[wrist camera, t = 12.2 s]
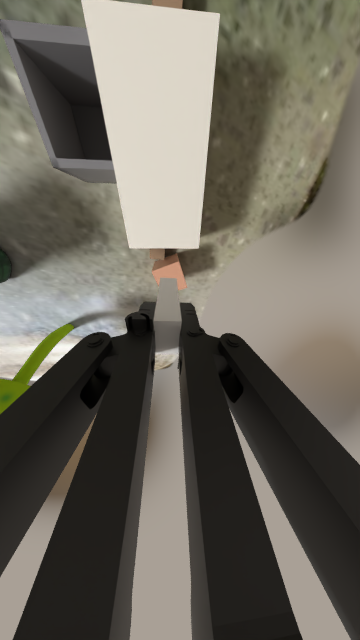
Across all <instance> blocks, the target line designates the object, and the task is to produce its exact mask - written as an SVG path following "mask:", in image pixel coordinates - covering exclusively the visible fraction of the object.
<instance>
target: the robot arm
mask: <svg viewBox="0 0 360 640" xmlns="http://www.w3.org/2000/svg"><path fill="white" fill-rule="evenodd" d="M125 322H126V326H127V331H128V332H127V333H126V334H124V335H121V336H116V337H112V338H111V337H110V336H109V334H107V333H105V332H97V333H92V334H90V335H88V336H86V337H85V338H83V339H82V340H81V341H80V342H79V343H78V344H77V345H75V346H74V347H73V348H72V349H71V350H70V351H69V352H68V353H67V354H66V355H65V356H63V357H62V358H61V359H60V360H59V361H58V362H57V363H56V364H55V365H54V366H52V367H51V368H50V369H49V370H48V371H47V372H46V373H45V374H44V375H43V376H42V377H40V378H39V379H38V380H37V381H36V382H35V383H34V384H33V385H32V386H31V387H30V388H28V389H27V390H26V391H25V392H24V393H23V394H22V395H21V396H20V397H19V398H17V399H16V400H15V401H14V402H13V403H12V404H11V405H10V406H9V407H8V408H7V409H5V410H4V411H3V412H2V413H1V414H0V576H1V575H2V573H3V571H4V569H5V568H6V566H7V564H8V563H9V561H10V559H11V558H12V556H13V554H14V553H15V551H16V549H17V547H18V546H19V544H20V542H21V541H22V539H23V537H24V536H25V534H26V532H27V530H28V529H29V527H30V525H31V524H32V522H33V520H34V519H35V517H36V515H37V513H38V512H39V510H40V509H41V507H42V505H43V503H44V502H45V500H46V498H47V497H48V495H49V493H50V492H51V490H52V488H53V486H54V485H55V483H56V481H57V480H58V478H59V476H60V475H61V473H62V471H63V470H64V468H65V466H66V465H67V463H68V461H69V459H70V458H71V456H72V454H73V452H74V451H75V449H76V448H77V446H78V444H79V442H80V441H81V439H82V437H83V436H84V434H85V432H86V430H87V429H88V427H89V426H90V424H91V422H92V420H93V419H94V417H95V415H96V414H97V415H96V418H95V420H94V423H93V426H92V429H91V431H90V434H89V436H88V439H87V442H86V445H85V447H84V450H83V453H82V455H81V458H80V461H79V463H78V466H77V469H76V472H75V474H74V477H73V480H72V482H71V485H70V488H69V490H68V493H67V496H66V498H65V501H64V504H63V506H62V509H61V512H60V514H59V517H58V520H57V522H56V525H55V528H54V530H53V533H52V536H51V538H50V541H49V544H48V547H47V549H46V552H45V555H44V557H43V560H42V563H41V565H40V568H39V571H38V574H37V576H36V579H35V581H34V584H33V587H32V589H31V592H30V595H29V598H28V600H27V603H26V606H25V608H24V611H23V614H22V617H21V619H20V622H19V625H18V627H17V630H16V632H15V635H14V638H13V640H129V638H130V627H131V612H132V587H133V577H134V566H135V556H136V547H137V537H138V527H139V516H140V506H141V496H142V486H143V476H144V466H145V456H146V446H147V436H148V426H149V416H150V405H151V396H152V386H153V376H154V366H155V354H178V353H179V361H178V369H179V381H180V398H181V415H182V432H183V449H184V466H185V482H186V483H185V484H186V500H187V518H188V532H189V533H188V535H189V552H190V568H191V623H192V640H303V639H302V636H301V634H300V631H299V628H298V625H297V622H296V619H295V617H294V614H293V611H292V608H291V604H290V601H289V598H288V595H287V592H286V588H285V585H284V582H283V579H282V576H281V572H280V569H279V567H278V563H277V560H276V557H275V554H274V550H273V547H272V544H271V541H270V538H269V534H268V531H267V528H266V525H265V521H264V518H263V515H262V512H261V509H260V505H259V503H258V499H257V496H256V493H255V490H254V486H253V483H252V480H251V477H250V474H249V470H248V467H247V464H246V461H245V458H244V454H243V451H242V448H241V445H240V442H239V439H238V435H237V432H236V429H235V426H234V423H233V419H232V416H231V413H230V410H231V412H232V414H233V416H234V418H235V420H236V422H237V424H238V426H239V427H240V429H241V431H242V433H243V435H244V437H245V439H246V441H247V442H248V444H249V447H250V448H251V450H252V452H253V454H254V456H255V458H256V460H257V462H258V464H259V465H260V468H261V469H262V471H263V473H264V475H265V477H266V479H267V481H268V483H269V484H270V486H271V488H272V490H273V492H274V494H275V496H276V498H277V500H278V502H279V504H280V505H281V507H282V509H283V511H284V513H285V515H286V517H287V519H288V521H289V523H290V524H291V526H292V528H293V530H294V532H295V534H296V536H297V538H298V540H299V541H300V543H301V545H302V547H303V549H304V551H305V553H306V555H307V556H308V559H309V561H310V562H311V564H312V566H313V568H314V570H315V572H316V574H317V576H318V578H319V579H320V581H321V583H322V585H323V587H324V589H325V591H326V593H327V595H328V597H329V599H330V600H331V602H332V604H333V606H334V608H335V610H336V612H337V614H338V616H339V618H340V619H341V621H342V623H343V625H344V627H345V629H346V631H347V632H348V635H349V636H350V638H351V640H360V465H359V464H358V462H357V461H356V460H355V459H354V458H353V457H352V456H351V455H350V454H349V453H348V452H347V451H346V450H345V448H344V447H343V446H342V445H341V444H340V443H339V442H338V441H337V440H336V439H335V438H334V437H333V436H332V435H331V433H330V432H329V431H328V430H327V429H326V428H325V427H324V426H323V425H322V424H321V423H320V422H319V421H318V419H317V418H316V417H315V416H314V415H313V414H312V413H311V412H310V411H309V410H308V409H307V408H306V407H305V405H304V404H303V403H302V402H301V401H300V400H299V399H298V398H297V397H296V396H295V395H294V394H293V393H292V392H291V391H290V390H289V388H288V387H287V386H286V385H285V384H284V383H283V382H282V381H281V380H280V379H279V378H278V376H277V375H276V374H275V373H274V372H273V371H272V370H271V369H270V368H269V367H268V366H267V365H266V364H265V363H264V362H263V360H262V359H261V358H260V357H259V356H258V355H257V354H256V353H255V352H254V351H253V350H252V349H251V347H250V346H249V345H248V344H247V343H246V342H245V341H244V340H243V339H242V338H241V337H239V336H237V335H235V334H231V333H225V334H223V335H222V336H221V337H220V338H217V337H213V336H210V335H207V334H206V333H205V331H204V330H203V329H202V328H201V327H200V325H199V321H198V318H197V315H196V311H195V307H194V306H193V305H192V304H191V303H179V294H178V286H177V278H160V283H159V289H158V295H157V301H156V302H144V303H143V304H142V305H141V306H140V309H139V312H135V313H131V314H130V315H128V316H127V317H126V318H125ZM229 409H230V410H229Z"/></svg>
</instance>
